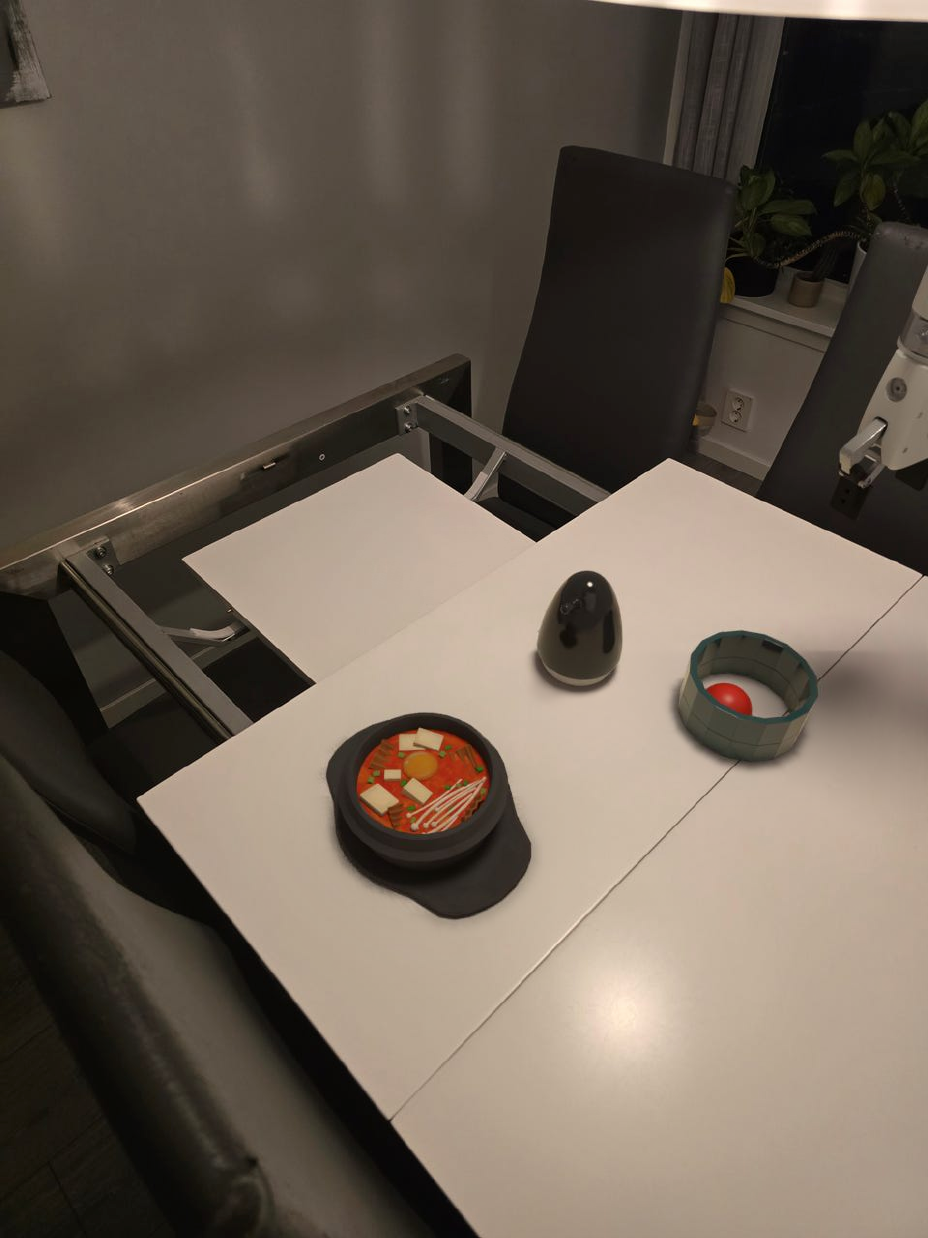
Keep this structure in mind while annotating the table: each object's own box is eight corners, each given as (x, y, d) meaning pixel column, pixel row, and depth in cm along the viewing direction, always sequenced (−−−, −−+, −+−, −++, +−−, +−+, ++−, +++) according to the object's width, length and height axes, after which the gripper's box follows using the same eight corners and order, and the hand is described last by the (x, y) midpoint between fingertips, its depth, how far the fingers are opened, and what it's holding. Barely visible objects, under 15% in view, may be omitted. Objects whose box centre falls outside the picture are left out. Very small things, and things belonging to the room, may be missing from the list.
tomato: (752, 677, 90) (723, 671, 85) (769, 728, 88) (740, 724, 83) (706, 695, 94) (676, 690, 89) (721, 743, 91) (691, 741, 87)
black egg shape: (518, 674, 97) (525, 583, 86) (562, 627, 103) (574, 536, 92) (589, 714, 92) (605, 623, 82) (631, 662, 98) (652, 571, 88)
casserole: (572, 850, 80) (580, 805, 74) (426, 967, 71) (423, 926, 66) (425, 702, 94) (422, 654, 88) (288, 785, 85) (275, 738, 79)
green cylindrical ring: (736, 661, 99) (753, 615, 93) (821, 736, 90) (844, 691, 85) (652, 702, 94) (664, 657, 88) (733, 787, 85) (753, 742, 80)
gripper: (922, 376, 62) (848, 545, 74) (1051, 328, 68) (964, 491, 80) (846, 340, 66) (787, 505, 78) (973, 298, 73) (901, 456, 85)
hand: (876, 498), depth 79 cm, fingers open, 9 cm apart
